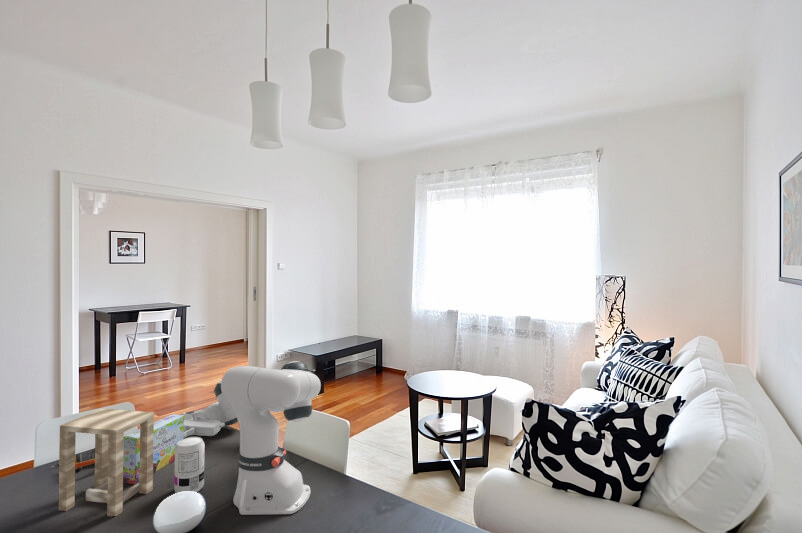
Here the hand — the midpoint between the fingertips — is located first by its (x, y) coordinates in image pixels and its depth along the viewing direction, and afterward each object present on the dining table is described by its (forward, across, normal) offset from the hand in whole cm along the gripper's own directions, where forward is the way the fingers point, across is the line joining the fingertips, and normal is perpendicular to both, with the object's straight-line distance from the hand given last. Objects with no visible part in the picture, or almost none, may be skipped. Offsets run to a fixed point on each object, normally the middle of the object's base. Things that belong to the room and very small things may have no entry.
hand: (180, 435), depth 154 cm
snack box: (+13, 0, -6) cm, 15 cm away
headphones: (+15, +24, -6) cm, 29 cm away
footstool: (+32, 0, -6) cm, 33 cm away
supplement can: (+23, -20, -6) cm, 31 cm away
